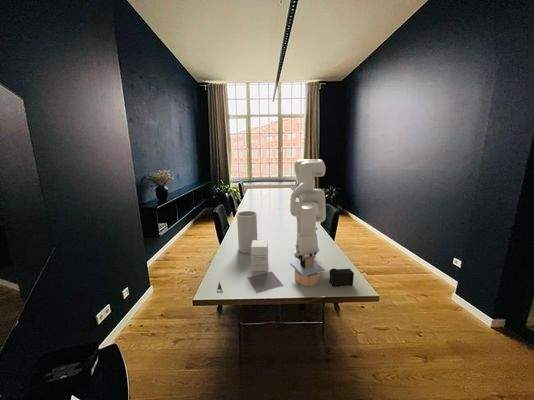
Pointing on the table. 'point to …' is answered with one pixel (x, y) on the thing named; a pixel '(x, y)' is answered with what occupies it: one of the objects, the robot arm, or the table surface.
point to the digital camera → (341, 277)
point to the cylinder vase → (246, 230)
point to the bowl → (306, 279)
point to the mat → (264, 282)
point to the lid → (307, 266)
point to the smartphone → (219, 288)
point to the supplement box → (259, 255)
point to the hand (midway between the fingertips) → (306, 265)
